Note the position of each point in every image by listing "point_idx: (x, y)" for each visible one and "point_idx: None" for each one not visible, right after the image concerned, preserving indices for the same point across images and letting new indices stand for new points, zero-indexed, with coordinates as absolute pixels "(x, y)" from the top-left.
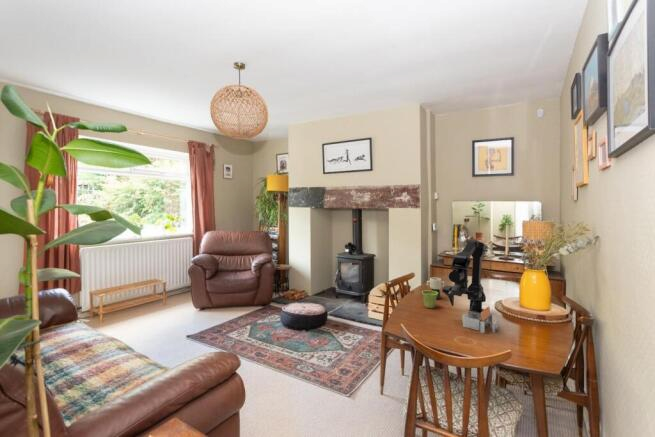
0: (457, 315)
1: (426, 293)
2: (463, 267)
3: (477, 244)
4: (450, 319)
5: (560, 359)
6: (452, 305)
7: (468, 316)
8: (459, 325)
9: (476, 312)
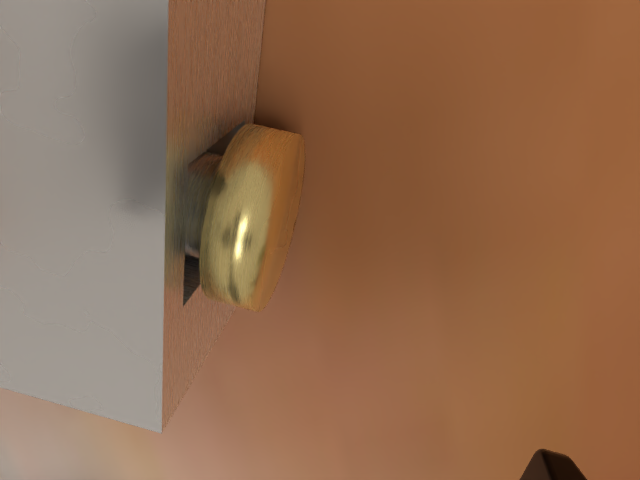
0: (427, 453)
1: None
2: None
3: None
4: (531, 268)
5: None
6: (552, 468)
7: (40, 59)
8: (337, 24)
9: (26, 393)
